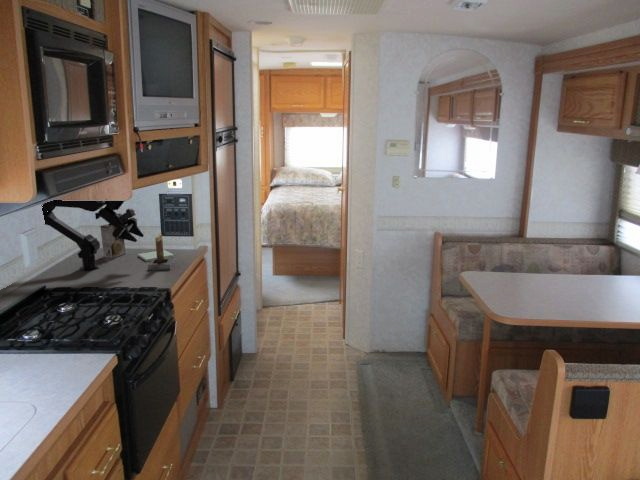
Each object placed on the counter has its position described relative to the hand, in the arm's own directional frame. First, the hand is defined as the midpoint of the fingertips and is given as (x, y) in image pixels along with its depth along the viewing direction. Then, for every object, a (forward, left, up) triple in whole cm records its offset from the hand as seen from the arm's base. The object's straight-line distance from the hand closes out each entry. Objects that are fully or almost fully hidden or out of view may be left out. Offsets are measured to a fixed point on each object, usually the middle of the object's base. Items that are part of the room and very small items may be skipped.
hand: (140, 238), depth 248 cm
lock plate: (+3, +8, -14) cm, 17 cm away
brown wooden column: (+3, +8, -14) cm, 17 cm away
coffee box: (-31, 0, -15) cm, 34 cm away
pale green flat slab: (-14, +14, -14) cm, 24 cm away
